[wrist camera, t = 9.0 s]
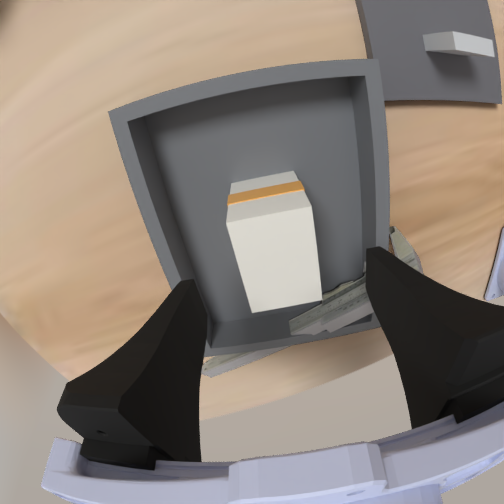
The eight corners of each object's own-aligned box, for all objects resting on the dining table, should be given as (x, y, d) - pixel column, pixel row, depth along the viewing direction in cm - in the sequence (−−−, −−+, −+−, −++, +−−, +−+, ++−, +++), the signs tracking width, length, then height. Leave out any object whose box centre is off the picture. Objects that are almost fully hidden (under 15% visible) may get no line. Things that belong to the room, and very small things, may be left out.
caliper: (390, 220, 19) (435, 275, 14) (398, 231, 19) (441, 286, 14) (195, 366, 26) (187, 425, 21) (204, 371, 27) (198, 430, 21)
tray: (356, 61, 13) (378, 59, 11) (369, 299, 22) (381, 326, 19) (130, 105, 14) (108, 111, 12) (206, 327, 23) (203, 357, 20)
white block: (294, 169, 16) (312, 204, 12) (306, 248, 19) (323, 300, 15) (230, 182, 17) (224, 222, 12) (249, 258, 19) (251, 313, 15)
